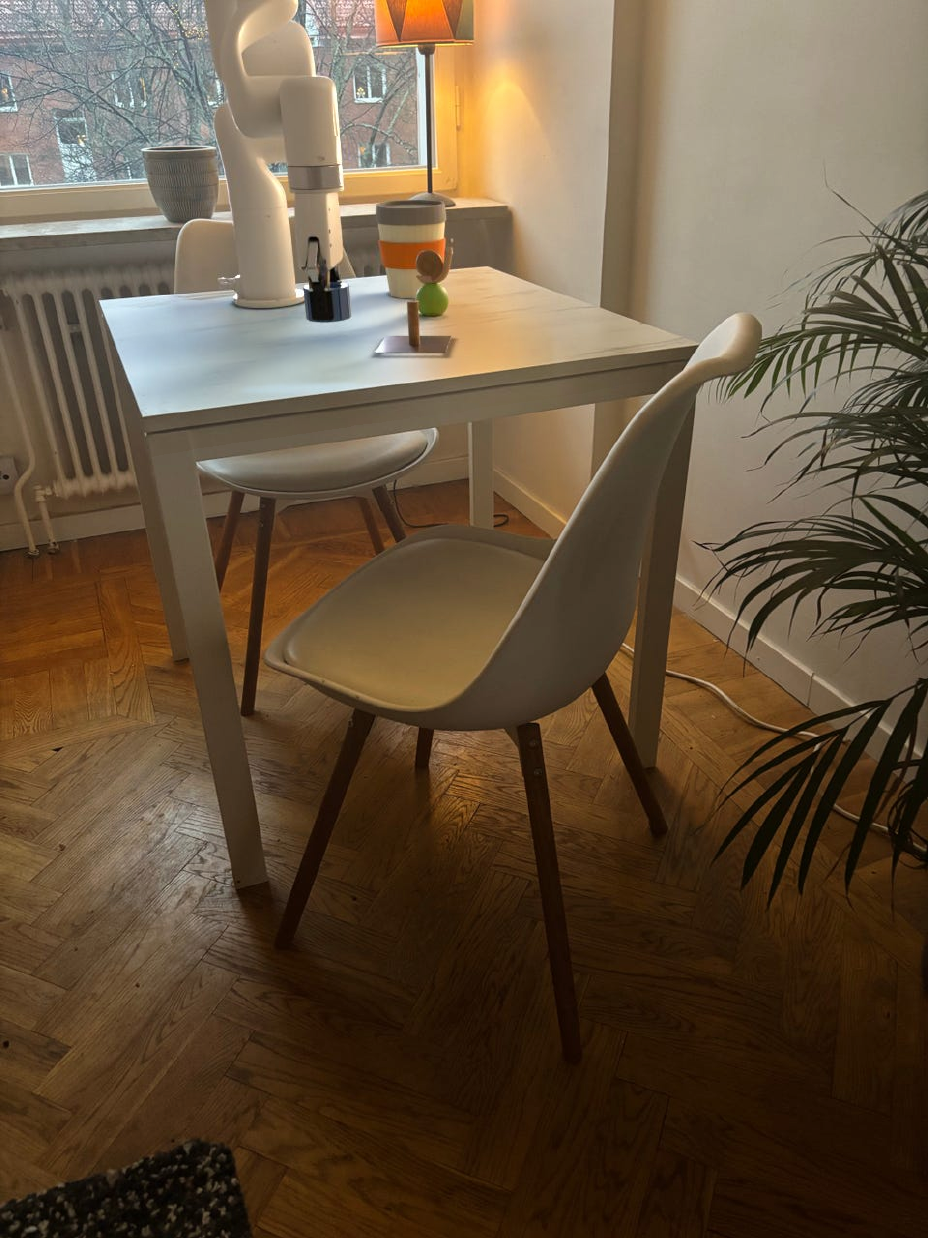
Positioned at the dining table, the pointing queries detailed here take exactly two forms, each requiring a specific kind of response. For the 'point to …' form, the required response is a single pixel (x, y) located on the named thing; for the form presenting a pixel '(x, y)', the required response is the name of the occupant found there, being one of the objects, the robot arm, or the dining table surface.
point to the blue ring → (339, 301)
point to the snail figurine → (433, 281)
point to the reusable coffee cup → (408, 240)
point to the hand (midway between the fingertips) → (328, 313)
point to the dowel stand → (414, 337)
